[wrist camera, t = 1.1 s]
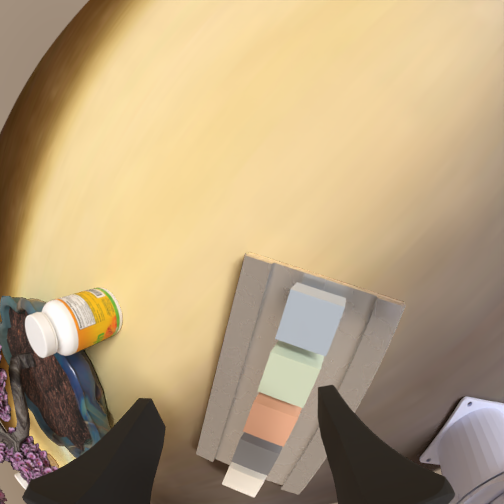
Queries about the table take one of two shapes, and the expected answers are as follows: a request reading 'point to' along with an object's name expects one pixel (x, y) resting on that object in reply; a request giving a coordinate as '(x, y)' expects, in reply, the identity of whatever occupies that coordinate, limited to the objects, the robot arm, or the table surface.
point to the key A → (243, 479)
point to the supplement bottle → (74, 322)
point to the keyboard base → (263, 341)
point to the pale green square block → (290, 373)
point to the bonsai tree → (45, 396)
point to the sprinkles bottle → (24, 482)
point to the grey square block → (310, 318)
